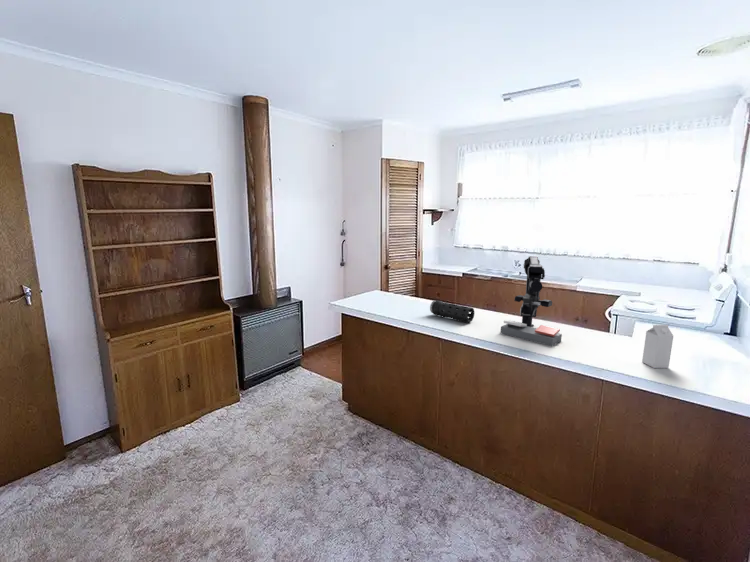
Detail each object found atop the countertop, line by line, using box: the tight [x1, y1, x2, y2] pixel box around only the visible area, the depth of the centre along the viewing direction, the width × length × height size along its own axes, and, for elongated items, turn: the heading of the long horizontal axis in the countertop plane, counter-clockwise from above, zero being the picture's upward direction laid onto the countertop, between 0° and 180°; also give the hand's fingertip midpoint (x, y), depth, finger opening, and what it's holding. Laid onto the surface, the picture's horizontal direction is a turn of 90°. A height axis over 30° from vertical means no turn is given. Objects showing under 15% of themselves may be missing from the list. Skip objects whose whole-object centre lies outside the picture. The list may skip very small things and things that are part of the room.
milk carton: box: [641, 324, 674, 369], centre depth 174 cm, size 7×7×19 cm
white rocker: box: [503, 320, 527, 327], centre depth 219 cm, size 8×10×1 cm
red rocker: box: [535, 324, 561, 337], centre depth 207 cm, size 8×10×1 cm
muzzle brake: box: [429, 300, 475, 324], centre depth 248 cm, size 10×28×10 cm, turn 47°
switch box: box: [500, 323, 563, 347], centre depth 214 cm, size 12×29×5 cm, turn 44°
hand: (531, 316), depth 212 cm, fingers closed
